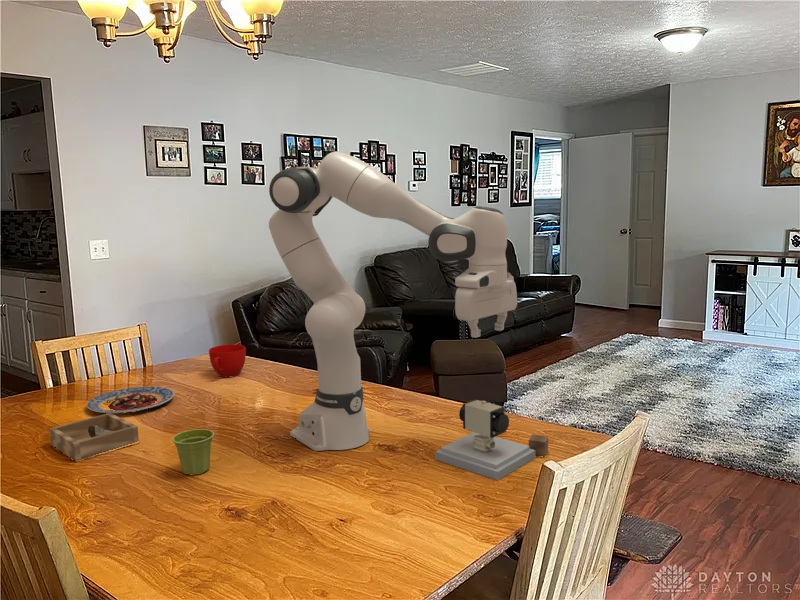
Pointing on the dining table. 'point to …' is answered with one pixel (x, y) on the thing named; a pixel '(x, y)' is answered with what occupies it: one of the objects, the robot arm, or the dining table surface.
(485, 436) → the pneumatic valve
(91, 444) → the rock tray
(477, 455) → the stand
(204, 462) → the plant pot
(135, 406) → the ceramic plate
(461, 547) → the dining table surface
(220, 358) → the ceramic cup
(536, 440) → the walnut block
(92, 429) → the rock sample
